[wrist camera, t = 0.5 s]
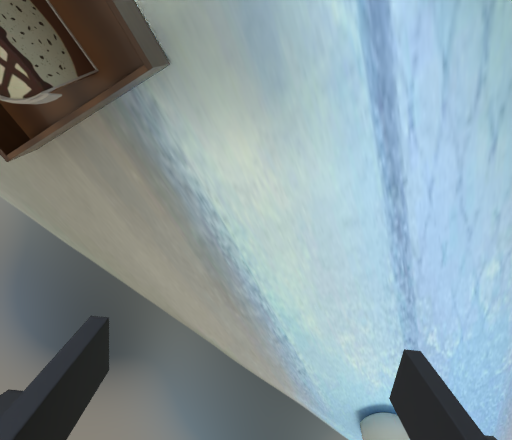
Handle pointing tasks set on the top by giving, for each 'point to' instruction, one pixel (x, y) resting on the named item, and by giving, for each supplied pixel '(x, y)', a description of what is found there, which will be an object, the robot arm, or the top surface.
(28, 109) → the wooden tray
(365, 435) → the air freshener
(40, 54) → the food container
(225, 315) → the top surface
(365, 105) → the top surface
